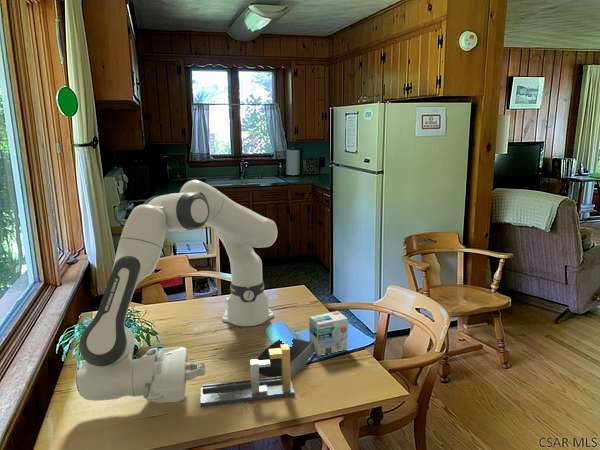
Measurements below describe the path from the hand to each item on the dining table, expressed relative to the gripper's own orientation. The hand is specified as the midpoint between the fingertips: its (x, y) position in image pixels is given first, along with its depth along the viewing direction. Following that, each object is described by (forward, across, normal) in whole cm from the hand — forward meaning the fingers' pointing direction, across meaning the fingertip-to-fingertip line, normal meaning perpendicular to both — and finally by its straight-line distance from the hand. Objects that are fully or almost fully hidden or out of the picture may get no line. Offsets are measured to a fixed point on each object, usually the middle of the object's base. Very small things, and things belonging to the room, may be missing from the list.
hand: (204, 369), depth 115 cm
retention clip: (+14, -1, +8) cm, 16 cm away
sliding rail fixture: (+10, 0, +9) cm, 14 cm away
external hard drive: (+23, +15, +10) cm, 29 cm away
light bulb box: (+37, +20, +10) cm, 43 cm away
